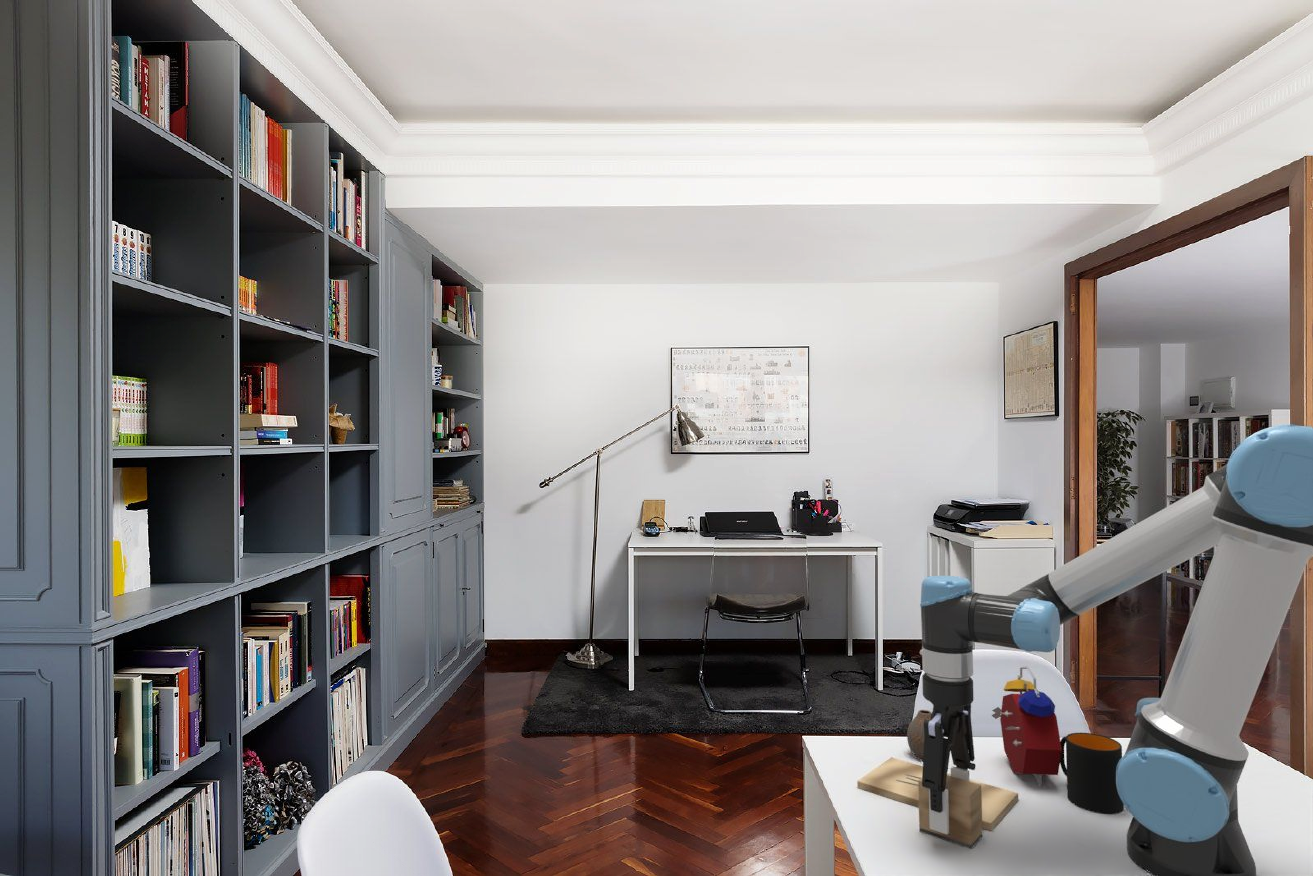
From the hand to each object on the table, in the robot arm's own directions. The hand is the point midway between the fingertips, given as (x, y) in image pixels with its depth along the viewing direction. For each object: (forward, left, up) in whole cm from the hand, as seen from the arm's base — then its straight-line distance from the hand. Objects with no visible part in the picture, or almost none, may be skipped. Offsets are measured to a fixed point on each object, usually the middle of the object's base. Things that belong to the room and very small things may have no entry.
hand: (950, 819), depth 114 cm
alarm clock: (-2, -31, -2) cm, 31 cm away
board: (+7, -12, -2) cm, 14 cm away
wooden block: (0, 0, -2) cm, 2 cm away
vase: (+15, -27, -2) cm, 31 cm away
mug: (-13, -28, -2) cm, 31 cm away
